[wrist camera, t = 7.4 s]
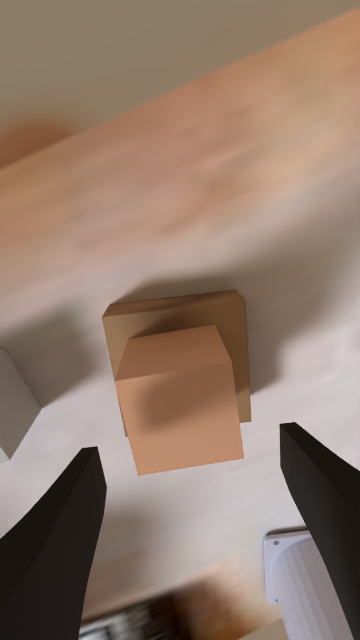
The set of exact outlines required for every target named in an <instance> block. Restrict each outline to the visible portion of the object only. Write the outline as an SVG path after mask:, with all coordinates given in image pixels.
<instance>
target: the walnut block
mask: <svg viewBox="0 0 360 640" xmlns="http://www.w3.org/2000/svg"><path fill="white" fill-rule="evenodd" d="M102 320H103V325H104V330H105V335H106V340H107V345H108V350H109V355H110V360H111V365H112V370H113V375H114V380H115V378H116V374H117V371H118V368H119V365H120V362H121V359H122V356H123V353H124V350H125V347H126V344H127V341H128V339H131V338H137V337H143V336H149V335H155V334H161V333H167V332H173V331H179V330H185V329H190V328H196V327H202V326H208V325H214V324H215V326H216V328H217V330H218V332H219V335H220V337H221V339H222V341H223V344H224V346H225V348H226V350H227V352H228V355H229V357H230V359H231V361H232V368H233V376H234V384H235V392H236V400H237V408H238V415H239V423H243V422H251V404H250V384H249V364H248V344H247V324H246V304H245V299H244V298H243V297H242V296H241V295H240V294H239V293H238V291H237V290H228V291H220V292H212V293H204V294H195V295H187V296H179V297H170V298H162V299H154V300H146V301H137V302H129V303H121V304H112V305H109V306H108V308H107V310H106V311H105V313H104V315H103V316H102ZM117 395H118V394H117ZM118 400H119V398H118ZM119 405H120V402H119ZM120 410H121V406H120ZM121 415H122V420H123V425H124V430H125V436H126V437H128V433H127V429H126V425H125V421H124V418H123V414H122V410H121Z"/></svg>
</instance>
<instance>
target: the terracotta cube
mask: <svg viewBox="0 0 360 640" xmlns="http://www.w3.org/2000/svg"><path fill="white" fill-rule="evenodd" d="M114 382H115V386H116V390H117V394H118V398H119V402H120V406H121V410H122V414H123V418H124V421H125V425H126V429H127V433H128V437H129V441H130V445H131V449H132V453H133V457H134V461H135V465H136V469H137V473H138V476H139V475H145V474H151V473H157V472H164V471H170V470H176V469H182V468H188V467H194V466H200V465H206V464H213V463H219V462H225V461H231V460H237V459H243V458H244V454H243V447H242V439H241V431H240V423H239V415H238V408H237V400H236V392H235V384H234V376H233V368H232V361H231V359H230V357H229V355H228V352H227V350H226V348H225V346H224V344H223V341H222V339H221V337H220V335H219V332H218V330H217V328H216V326H215V324H214V325H208V326H202V327H196V328H190V329H185V330H179V331H173V332H167V333H161V334H155V335H149V336H143V337H137V338H131V339H128V341H127V344H126V347H125V350H124V353H123V356H122V359H121V362H120V365H119V368H118V371H117V374H116V378H115V381H114Z"/></svg>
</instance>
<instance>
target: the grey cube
mask: <svg viewBox="0 0 360 640" xmlns="http://www.w3.org/2000/svg"><path fill="white" fill-rule="evenodd" d="M41 409H42V408H41V407H40V405H39V403H38V402H37V400H36V398H35V397H34V395H33V394H32V392H31V390H30V389H29V387H28V386H27V384H26V382H25V381H24V379H23V378H22V376H21V374H20V373H19V371H18V370H17V368H16V366H15V365H14V363H13V362H12V360H11V358H10V357H9V355H8V354H7V352H6V350H5V349H4V347H2V348H0V463H3V462H6V461H8V460H10V459H11V457H12V456H13V454H14V452H15V451H16V449H17V448H18V446H19V444H20V443H21V441H22V440H23V438H24V436H25V435H26V433H27V432H28V430H29V428H30V427H31V425H32V424H33V422H34V420H35V419H36V417H37V415H38V414H39V412H40V411H41Z"/></svg>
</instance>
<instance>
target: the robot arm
mask: <svg viewBox="0 0 360 640" xmlns="http://www.w3.org/2000/svg"><path fill="white" fill-rule="evenodd" d="M280 466H281V469H282V472H283V475H284V478H285V480H286V483H287V486H288V489H289V491H290V493H291V496H292V498H293V500H294V502H295V504H296V506H297V508H298V510H299V512H300V514H301V516H302V518H303V520H304V522H305V524H306V526H307V528H308V530H306V531H298V532H290V533H282V534H274V535H268V536H266V537H265V538H264V540H263V545H264V568H265V592H266V600H267V603H269V604H279V607H280V610H281V614H282V617H283V620H284V624H285V627H286V631H287V634H288V638H289V640H360V471H359V470H357V469H356V468H354V467H353V466H351V465H350V464H348V463H347V462H346V461H344V460H343V459H341V458H340V457H339V456H337V455H336V454H335V453H333V452H332V451H331V450H329V449H328V448H327V447H325V446H324V445H323V444H322V443H320V442H319V441H318V440H317V439H315V438H314V437H313V436H312V435H310V434H309V433H308V432H307V431H306V430H304V429H303V428H302V427H301V426H299V425H298V424H297V423H296V422H292V423H284V424H280ZM106 491H107V486H106V481H105V477H104V473H103V469H102V464H101V460H100V456H99V451H98V447H97V446H96V447H88V448H82V449H81V450H80V451H79V452H78V454H77V455H76V456H75V457H74V458H73V460H72V461H71V462H70V464H69V465H68V466H67V467H66V469H65V470H64V471H63V472H62V474H61V475H60V476H59V477H58V478H57V480H56V481H55V482H54V483H53V484H52V486H51V487H50V488H49V489H48V490H47V492H46V493H45V494H44V495H43V496H42V497H41V498H40V499H39V501H38V502H37V503H36V504H35V505H34V506H33V507H32V508H31V509H30V511H29V512H28V513H27V514H26V515H25V516H24V517H23V518H22V519H21V520H20V521H19V522H18V523H17V524H16V525H15V526H14V527H13V528H12V529H11V530H9V531H8V532H7V533H6V534H5V535H4V536H3V537H2V538H1V539H0V640H78V637H79V630H80V623H81V617H82V610H83V604H84V597H85V592H86V587H87V582H88V578H89V573H90V569H91V565H92V561H93V557H94V553H95V549H96V545H97V541H98V536H99V532H100V528H101V524H102V520H103V515H104V508H105V500H106Z"/></svg>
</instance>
